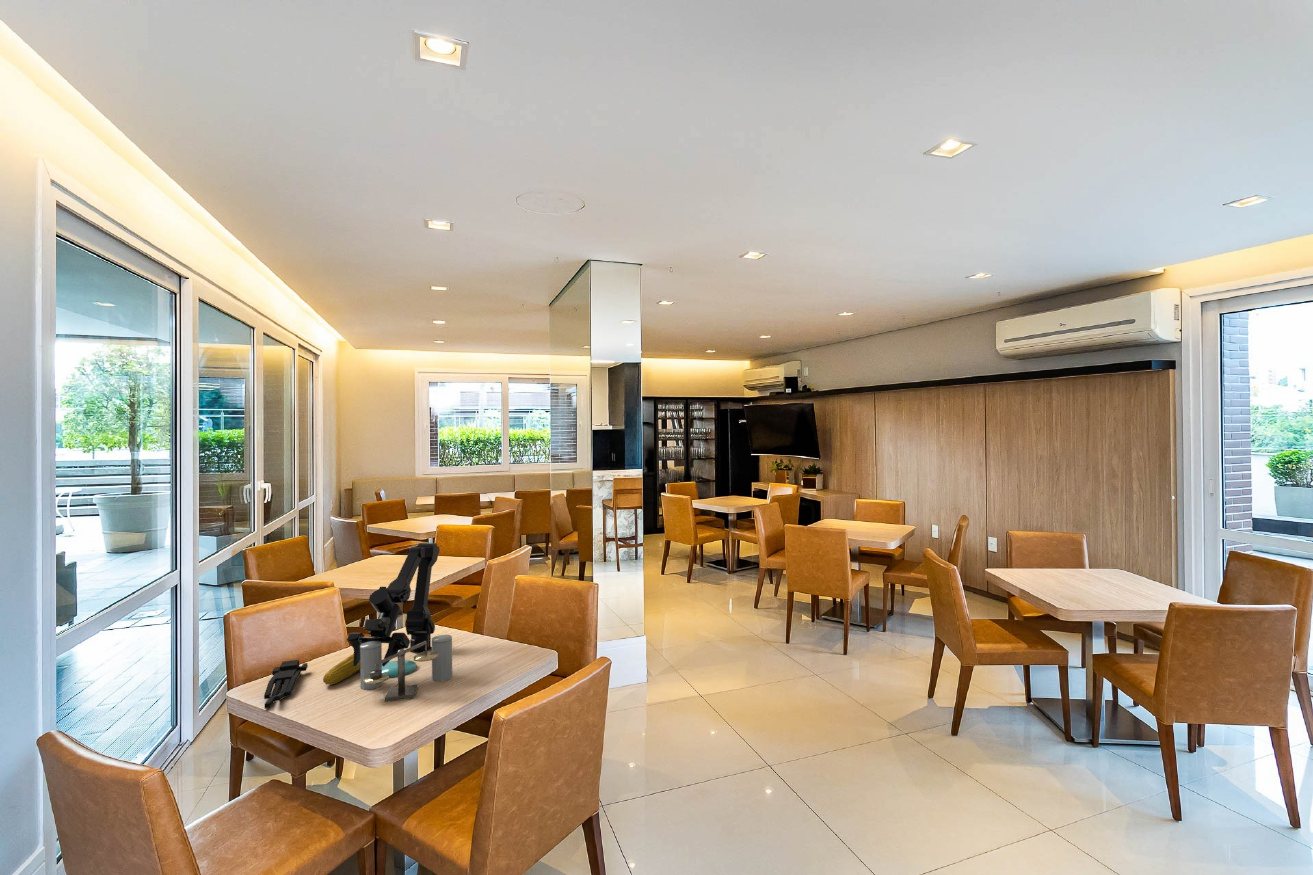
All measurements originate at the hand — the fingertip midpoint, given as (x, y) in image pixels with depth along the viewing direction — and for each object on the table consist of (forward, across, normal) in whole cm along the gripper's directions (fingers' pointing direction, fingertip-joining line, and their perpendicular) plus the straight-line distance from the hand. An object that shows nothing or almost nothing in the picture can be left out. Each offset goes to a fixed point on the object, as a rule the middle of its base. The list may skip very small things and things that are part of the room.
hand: (368, 665), depth 185 cm
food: (-2, -13, +12) cm, 17 cm away
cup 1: (+4, 0, +6) cm, 7 cm away
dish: (-5, +1, +15) cm, 16 cm away
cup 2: (-1, +20, +10) cm, 23 cm away
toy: (+7, -26, +3) cm, 27 cm away
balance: (+9, +13, +1) cm, 16 cm away
